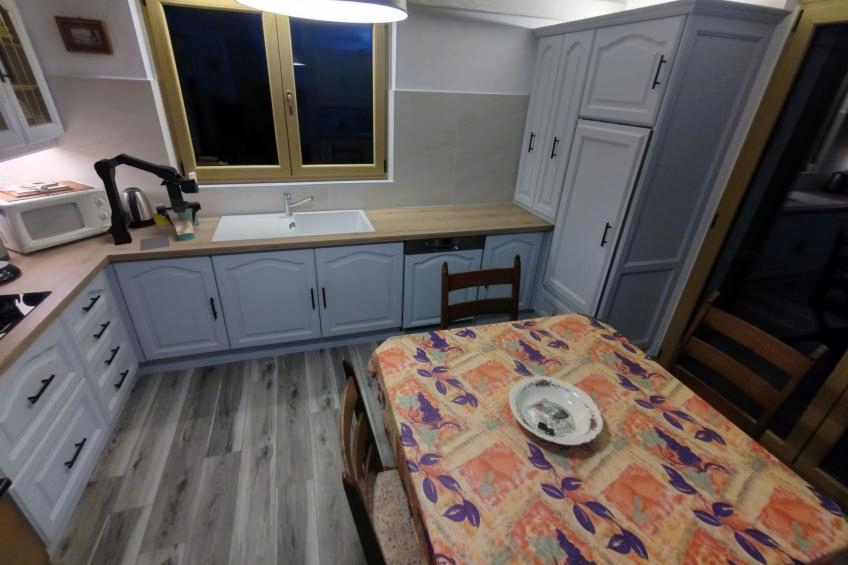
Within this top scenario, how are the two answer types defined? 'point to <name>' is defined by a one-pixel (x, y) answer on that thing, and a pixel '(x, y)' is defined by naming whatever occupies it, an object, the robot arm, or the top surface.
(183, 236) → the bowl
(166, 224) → the supplement bottle
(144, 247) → the mat
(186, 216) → the grey-green cup
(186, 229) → the cover board
